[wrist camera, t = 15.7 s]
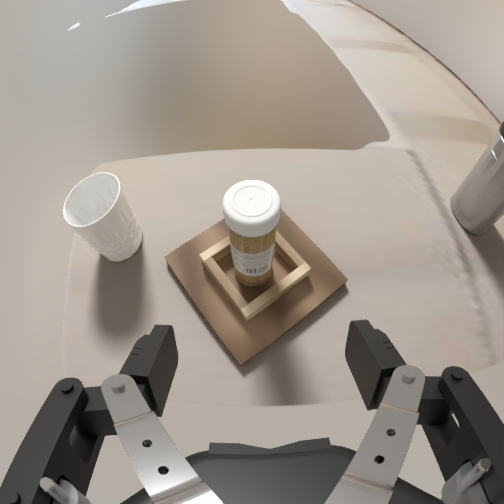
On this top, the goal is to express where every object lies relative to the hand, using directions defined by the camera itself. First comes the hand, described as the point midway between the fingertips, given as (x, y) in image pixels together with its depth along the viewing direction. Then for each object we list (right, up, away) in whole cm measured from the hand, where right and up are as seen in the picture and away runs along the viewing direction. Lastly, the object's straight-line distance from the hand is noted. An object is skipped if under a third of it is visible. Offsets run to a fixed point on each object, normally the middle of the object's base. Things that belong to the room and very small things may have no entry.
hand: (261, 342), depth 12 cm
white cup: (-19, +5, +25) cm, 32 cm away
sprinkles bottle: (0, +2, +22) cm, 22 cm away
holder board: (0, +1, +22) cm, 23 cm away
